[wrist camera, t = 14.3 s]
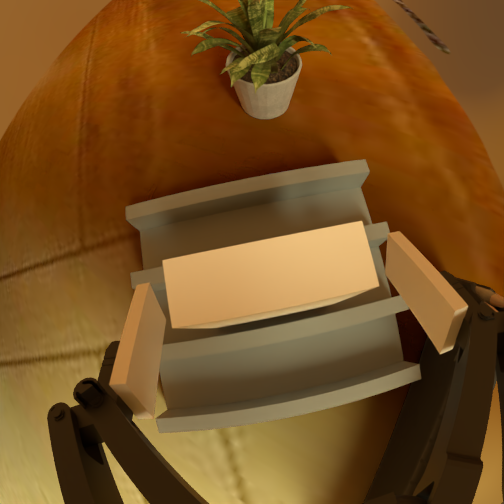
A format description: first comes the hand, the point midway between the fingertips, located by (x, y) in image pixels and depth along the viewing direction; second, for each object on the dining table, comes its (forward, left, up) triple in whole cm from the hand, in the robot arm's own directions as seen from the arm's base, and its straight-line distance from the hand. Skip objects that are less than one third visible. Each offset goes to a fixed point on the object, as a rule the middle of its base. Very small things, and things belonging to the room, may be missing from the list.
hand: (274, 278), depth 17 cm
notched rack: (0, 0, -10) cm, 10 cm away
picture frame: (0, 0, -9) cm, 8 cm away
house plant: (-19, +10, -10) cm, 24 cm away
